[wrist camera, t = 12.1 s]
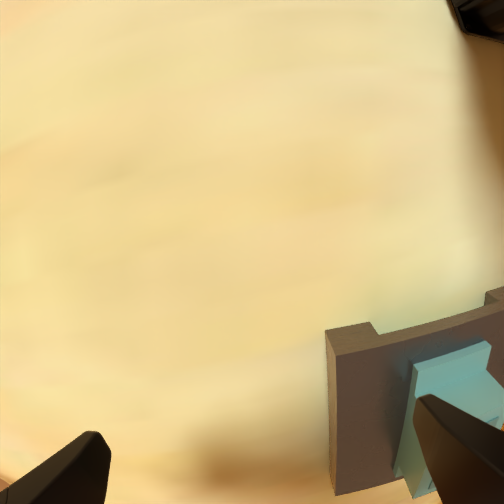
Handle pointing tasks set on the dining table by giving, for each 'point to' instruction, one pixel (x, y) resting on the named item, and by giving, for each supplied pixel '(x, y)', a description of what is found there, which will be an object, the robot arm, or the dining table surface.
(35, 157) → the dining table surface
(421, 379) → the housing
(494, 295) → the stand
